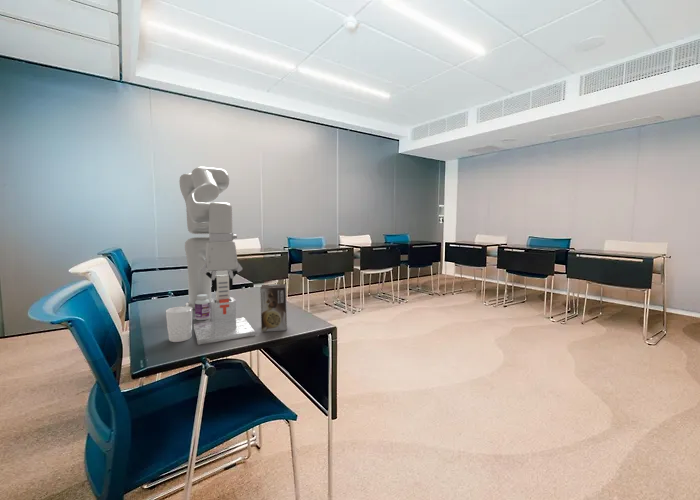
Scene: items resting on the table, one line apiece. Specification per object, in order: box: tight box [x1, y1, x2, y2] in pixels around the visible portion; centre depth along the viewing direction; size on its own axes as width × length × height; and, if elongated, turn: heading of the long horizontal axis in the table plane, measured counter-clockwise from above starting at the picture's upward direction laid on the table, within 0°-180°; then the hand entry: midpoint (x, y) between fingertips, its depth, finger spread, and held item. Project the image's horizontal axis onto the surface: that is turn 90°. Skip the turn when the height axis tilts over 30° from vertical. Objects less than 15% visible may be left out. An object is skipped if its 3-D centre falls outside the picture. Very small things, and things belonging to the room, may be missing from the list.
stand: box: [193, 296, 256, 346], centre depth 114 cm, size 18×18×12 cm
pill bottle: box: [194, 294, 210, 321], centre depth 129 cm, size 5×5×10 cm
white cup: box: [165, 305, 194, 343], centre depth 107 cm, size 8×8×10 cm
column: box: [215, 274, 231, 303], centre depth 113 cm, size 5×4×18 cm
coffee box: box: [259, 283, 288, 333], centre depth 118 cm, size 9×6×16 cm
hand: (222, 289), depth 113 cm, fingers closed on column, 4 cm apart
